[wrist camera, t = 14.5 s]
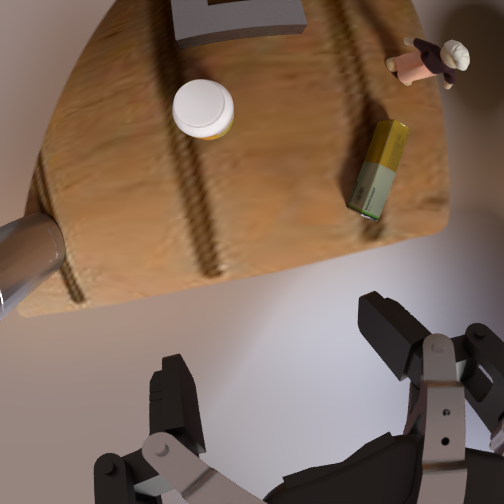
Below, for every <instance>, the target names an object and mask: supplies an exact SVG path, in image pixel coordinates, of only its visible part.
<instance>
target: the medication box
mask: <svg viewBox="0 0 504 504" xmlns="http://www.w3.org/2000/svg"><path fill="white" fill-rule="evenodd" d="M409 131H410V130H409V128H407V127H406V126H405V125H403V124H402V123H400V122H398V121H396V120H385V121H378V122H377V125H376V128H375V131H374V134H373V137H372V140H371V143H370V145H369V148H368V151H367V154H366V157H365V159H364V162H363V165H362V167H361V170H360V173H359V175H358V178H357V181H356V183H355V186H354V188H353V191H352V194H351V196H350V199H349V201H348V204H347V208H348V209H350V210H352V211H353V212H355V213H357V214H359V215H361V216H363V217H365V218H367V219H370V220H373V221H378V219H379V216H380V214H381V211H382V209H383V206H384V204H385V201H386V198H387V196H388V193H389V190H390V188H391V185H392V182H393V180H394V177H395V174H396V171H397V168H398V165H399V162H400V159H401V156H402V153H403V150H404V147H405V144H406V141H407V138H408V134H409Z"/></svg>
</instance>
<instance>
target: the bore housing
mask: <svg viewBox="0 0 504 504" xmlns="http://www.w3.org/2000/svg"><path fill="white" fill-rule="evenodd" d="M171 5H172V14H173V22H174V30H175V38H176V42H177V43H178V45H179V47H180V49H184V48H189V47H193V46H198V45H203V44H208V43H214V42H220V41H226V40H233V39H240V38H248V37H258V36H269V35H285V34H302V32H303V30H304V29H305V27H306V26H307V22H306V18H305V14H304V11H303V7H302V4H301V0H248V1H239V2H230V3H223V4H217V5H210V6H208V1H207V0H171Z"/></svg>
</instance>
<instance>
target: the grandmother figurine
mask: <svg viewBox="0 0 504 504" xmlns="http://www.w3.org/2000/svg"><path fill="white" fill-rule="evenodd" d="M403 42H404V44H406V45H411V46H414V47H416V48H418V49H419V50H420V51H418V52H412V53H407V54H403V55H401V56H398V57H392V58H389V59H387V60H386V66H387V68H388V69H389V70H390V71H392V72H397V71H398V72H397V76H398V78H399V80H400V81H401V82H402V83H403V84H404V85H406V86H409V85H411V83H412V81H414V80H419V79H423V78H427V77H430V76H435V75H437V74H439V73H443V74H444V78H445V81H444V82H443V86H444V87H445V88H446V89H450V87H451V86H452V85H453V84H455V83H456V75H455V71H454V68H458V69H460V70H466V69H467V67H468V64H469V62H470V60H469V54H468V51H467V49H466V48H465V47H464V46H463V45H462V44H461V43H460V42H457V41H454V40H450V41H448V42H446V43H445V44H444V47H443V48H442V49H441V48H439V47H438V46H436V45H434V44H432V43H429V42H427V41H424V40H421V39H418V38H408V37H406V38H404V39H403Z"/></svg>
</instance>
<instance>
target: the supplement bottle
mask: <svg viewBox="0 0 504 504" xmlns="http://www.w3.org/2000/svg"><path fill="white" fill-rule="evenodd" d="M172 111H173V117H174V120H175V123H176V124H177V126H178V127H179V128H180V129H181V130H182V131H183V132H185V133H186V134H188V135H190V136H193V137H196V138H199V139H202V140H214V139H217V138H219V137H221V136H223V135H224V134H225V133H226V132H227V131H228V130H229V129H230V127H231V126H232V123H233V119H234V106H233V100H232V98H231V95H230V93H229V92H228V91H227V90H226V88H225V87H223V86H222V85H221V84H219V83H217V82H214V81H210V80H203V79H198V80H193V81H190V82H188V83H186V84H184V85H183V86H182V87H181V88H180V89H179V90H178V92H177V93H176V95H175V98H174V103H173V109H172Z"/></svg>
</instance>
